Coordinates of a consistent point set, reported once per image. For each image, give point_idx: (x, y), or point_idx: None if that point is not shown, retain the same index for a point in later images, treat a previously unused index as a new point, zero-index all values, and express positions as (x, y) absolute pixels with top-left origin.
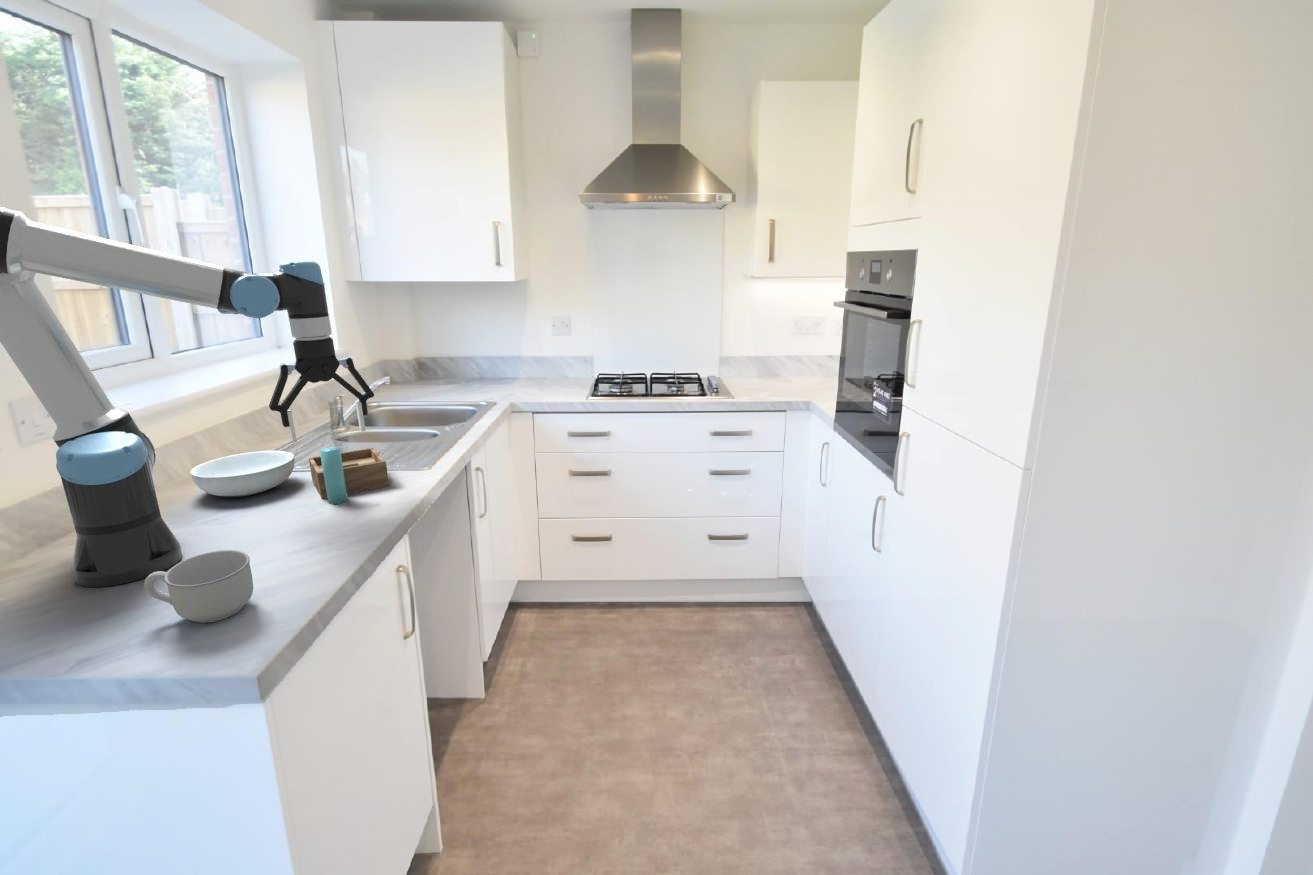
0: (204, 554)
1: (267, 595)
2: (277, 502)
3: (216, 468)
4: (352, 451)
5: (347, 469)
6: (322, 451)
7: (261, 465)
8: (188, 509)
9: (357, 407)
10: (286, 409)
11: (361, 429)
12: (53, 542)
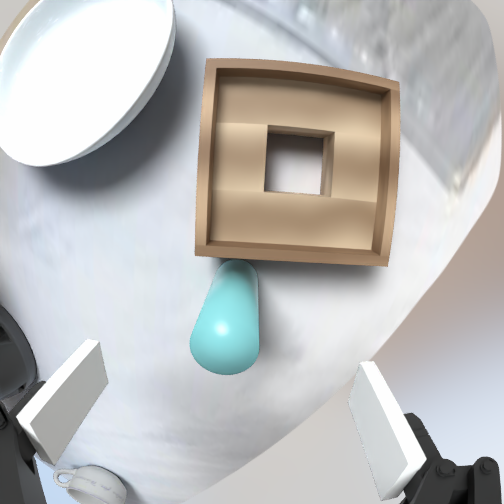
0: (81, 491)
1: (136, 480)
2: (123, 199)
3: (49, 12)
4: (341, 74)
5: (280, 259)
6: (197, 355)
7: None
8: None
9: (381, 468)
10: (32, 466)
11: (350, 406)
12: None
